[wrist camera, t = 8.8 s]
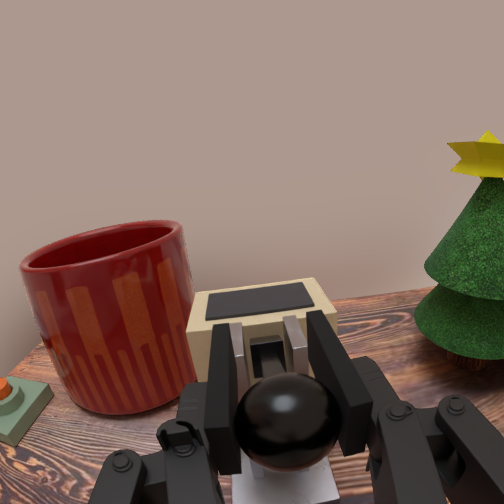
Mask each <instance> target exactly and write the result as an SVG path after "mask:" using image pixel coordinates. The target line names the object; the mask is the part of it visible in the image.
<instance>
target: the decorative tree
mask: <svg viewBox="0 0 504 504" xmlns="http://www.w3.org/2000/svg"><path fill="white" fill-rule="evenodd" d="M447 144H448V145H449V146H450V147H451V148H452V149H453V150H454V151H455V152H456V153H457V154H458V155H459V156H460V157H461V158H462V159H461V160H460V161H459V163H457V164H456V166H455V167H454V168H453V169H452V170H451V171H452V172H458V173H463V174H468V175H472V176H479V177H480V178H481V179H482V182H481V183H480V185H479V187H478V188H477V190H476V191H475V193H474V194H473V196H472V197H471V199H470V200H469V202H468V204H467V205H466V206H465V208H464V209H463V211H462V212H461V214H460V215H459V217H458V218H457V219H456V221H455V222H454V224H453V225H452V227H451V228H450V229H449V231H448V232H447V233H446V235H445V236H444V237H443V239H442V240H441V241H440V243H439V244H438V245H437V247H436V248H435V249H434V251H433V252H432V253H431V255H430V256H429V257H428V258H427V260H426V261H425V264H424V268H425V271H426V272H427V274H428V275H429V276H430V277H431V278H432V279H434V280H435V281H437V282H438V283H439V284H438V285H437V286H436V287H435V288H434V289H433V290H432V291H431V292H430V293H429V294H428V295H427V296H426V297H425V298H424V299H423V300H422V301H421V302H420V303H419V304H418V305H417V307H416V309H415V313H414V318H415V322H416V325H417V326H418V328H419V330H420V331H421V332H422V333H423V334H424V335H425V336H426V337H427V338H428V339H429V340H431V341H432V342H434V343H435V344H437V345H438V346H440V347H442V348H444V349H446V350H448V351H447V357H448V360H449V361H450V362H451V363H452V364H453V365H454V366H456V367H458V368H460V369H463V370H468V371H477V370H481V369H483V368H485V367H487V366H488V365H489V363H490V361H491V359H504V181H503V178H504V144H501V143H500V142H499V141H498V140H497V139H496V138H495V136H494V135H492V134H491V133H490V132H489V131H488V130H487V131H486V132H485V134H484V135H483V136H482V137H481V138H480V139H479V140H478V142H455V143H447Z"/></svg>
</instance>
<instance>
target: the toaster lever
mask: <svg viewBox="0 0 504 504" xmlns="http://www.w3.org/2000/svg"><path fill="white" fill-rule="evenodd" d="M250 351H251V359H252V366H253V374H254V378H255V379H256V378H263V379H261V380H259V381H258V382H256V383H255V384H254V385H252V386H251V387H250V388H249V389H248V390H247V391H246V393H245V394H244V395H243V397H242V398H241V400H240V402H239V403H238V406H237V409H236V412H235V417H234V430H235V435H236V439H237V441H238V443H239V446H240V447H241V449H242V450H243V452H244V453H245V454H246V455H247V456H248V458H250V459H251V460H252V461H253V462H255V463H256V464H258V465H260V466H261V467H263V468H266V469H269V470H272V471H277V472H295V471H300V470H304V469H307V468H309V467H311V466H313V465H315V464H317V463H318V462H320V461H321V460H322V459H323V458H324V457H326V456H327V455H328V454H329V452H330V451H331V450H332V448H333V447H334V445H335V444H336V442H337V439H338V437H339V434H340V429H341V412H340V408H339V404H338V402H337V400H336V398H335V396H334V395H333V393H332V392H331V391H330V390H329V389H328V387H327V386H325V385H324V384H323V383H322V382H320V381H319V380H317V379H315V378H313V377H311V376H309V375H306V374H301V373H296V372H287V369H286V361H285V353H284V344H283V340H282V339H281V337H280V336H279V335H273V336H265V337H258V338H250Z"/></svg>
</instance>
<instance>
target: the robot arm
mask: <svg viewBox="0 0 504 504" xmlns="http://www.w3.org/2000/svg"><path fill="white" fill-rule="evenodd" d="M306 323H307V346H308V360H309V363H310V365H311V368H312V371H313V373H314V376H315V379H317V380H319V381H320V382H322V383H323V384H324V385H325V386H327V387H328V389H329V390H330V391H331V392H332V393H333V395H334V396H335V398H336V400H337V402H338V404H339V408H340V412H341V429H340V434H339V437H338V441H339V444H340V447H341V449H342V452H343V455H344V457H346V456H350V455H354V454H357V453H361V452H364V450H365V446H366V444H367V446H368V448H369V451H370V454H369V458H368V462H367V466H366V471H369V468H370V473H371V480H372V486H373V493H374V500H375V504H447V501H446V497H447V498H448V500H449V501H450V503H451V504H504V437H503V436H502V435H501V434H500V432H499V431H498V430H497V429H496V428H495V427H494V426H493V425H492V424H491V423H490V422H489V421H488V420H487V418H486V417H485V416H484V415H483V414H482V413H481V412H480V411H479V410H478V409H477V408H476V407H475V406H474V405H473V404H472V403H471V402H470V401H469V400H468V399H467V398H465V397H462V396H459V395H451V396H447V397H445V398H444V399H442V400H441V401H440V403H439V405H438V407H435V408H424V409H417V408H414V406H413V405H412V404H410V403H408V402H406V401H402V400H400V399H399V397H398V396H397V394H396V393H395V391H394V389H393V388H392V386H391V385H390V383H389V382H388V380H387V379H386V377H385V376H384V374H383V373H382V371H380V368H379V367H378V365H377V364H376V362H375V361H373V360H372V359H370V358H368V357H367V356H363V357H359V358H355V359H350V358H349V356H348V354H347V353H346V351H345V349H344V347H343V346H342V344H341V342H340V340H339V339H338V337H337V335H336V333H335V332H334V330H333V328H332V327H331V325H330V323H329V321H328V320H327V318H326V316H325V315H324V313H323V311H322V309H321V310H315V311H309V312H306ZM237 406H238V379H237V366H236V360H235V355H234V349H233V343H232V338H231V332H230V326H229V323H222V324H213V327H212V337H211V347H210V358H209V369H208V380H207V382H198V383H187V385H186V386H185V387H184V388H183V390H182V391H181V394H180V399H179V405H178V410H177V416H176V418H175V419H171V420H168V421H166V422H165V423H163V424H162V425H161V426H160V427H159V428H158V430H157V433H156V437H157V439H158V441H159V443H160V445H161V447H162V449H163V450H161V451H159V452H156V453H153V454H149V455H144V456H139V455H138V454H137V453H136V452H135V451H132V450H128V449H125V450H118V451H115V452H113V453H112V454H110V455H109V456H108V457H107V458H106V460H105V461H104V464H103V466H102V469H101V471H100V474H99V476H98V479H97V481H96V484H95V486H94V489H93V492H92V494H91V497H90V499H89V502H88V504H225V502H224V498H223V494H222V490H221V486H220V483H219V481H218V470H219V473H220V475H234V474H242V465H241V447H240V446H239V443H238V441H237V439H236V435H235V430H234V417H235V412H236V409H237ZM445 495H446V497H445Z"/></svg>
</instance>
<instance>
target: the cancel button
mask: <svg viewBox="0 0 504 504" xmlns="http://www.w3.org/2000/svg"><path fill="white" fill-rule="evenodd" d="M11 393H12V389H11V387H10V385H9V383H8V381H7V380H6V379H5V378H0V400H3V399H5V398H7V397H8V396H9V395H10V394H11Z"/></svg>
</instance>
